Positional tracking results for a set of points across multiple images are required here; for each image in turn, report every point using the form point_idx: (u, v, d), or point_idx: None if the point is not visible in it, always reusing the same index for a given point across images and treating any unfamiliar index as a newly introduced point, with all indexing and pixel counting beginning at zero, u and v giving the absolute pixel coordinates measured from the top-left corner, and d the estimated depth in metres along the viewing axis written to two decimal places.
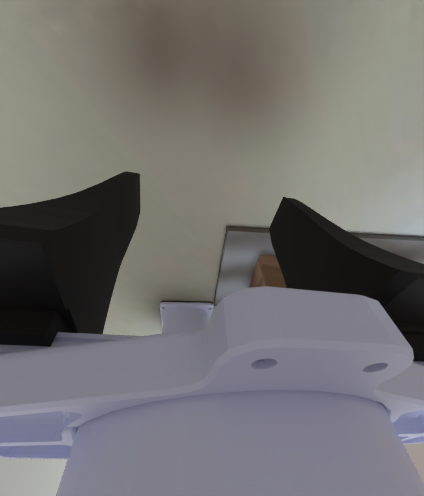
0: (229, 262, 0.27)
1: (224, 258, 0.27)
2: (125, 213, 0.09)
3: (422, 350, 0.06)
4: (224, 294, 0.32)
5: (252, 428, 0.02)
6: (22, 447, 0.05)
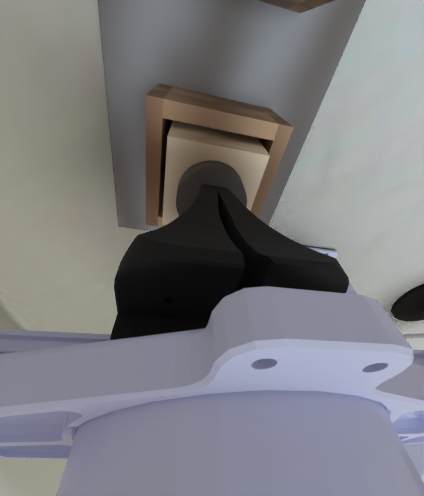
0: None
1: None
2: None
3: None
4: None
5: (252, 428, 0.02)
6: (22, 447, 0.05)
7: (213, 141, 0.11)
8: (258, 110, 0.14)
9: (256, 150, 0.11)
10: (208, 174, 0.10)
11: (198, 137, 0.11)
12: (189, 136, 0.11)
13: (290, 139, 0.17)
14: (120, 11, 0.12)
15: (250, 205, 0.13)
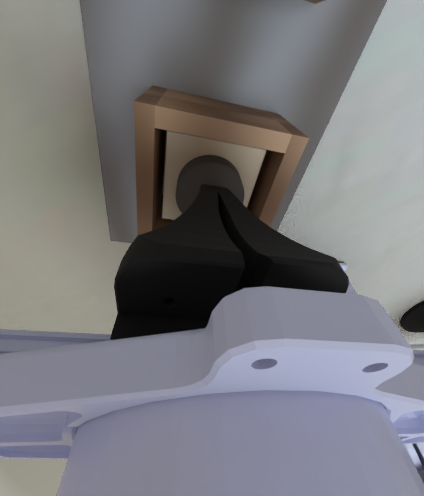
0: None
1: None
2: None
3: None
4: None
5: (252, 428, 0.02)
6: (22, 447, 0.05)
7: None
8: (266, 116, 0.12)
9: None
10: (207, 168, 0.11)
11: None
12: None
13: None
14: (105, 1, 0.10)
15: (248, 199, 0.13)
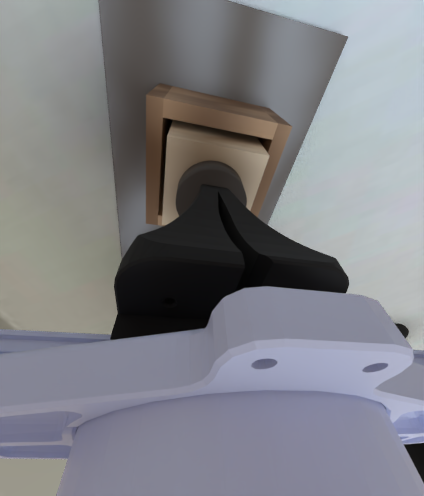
0: None
1: None
2: None
3: None
4: None
5: (252, 428, 0.02)
6: (22, 447, 0.05)
7: None
8: None
9: None
10: None
11: None
12: None
13: None
14: (130, 204, 0.20)
15: None
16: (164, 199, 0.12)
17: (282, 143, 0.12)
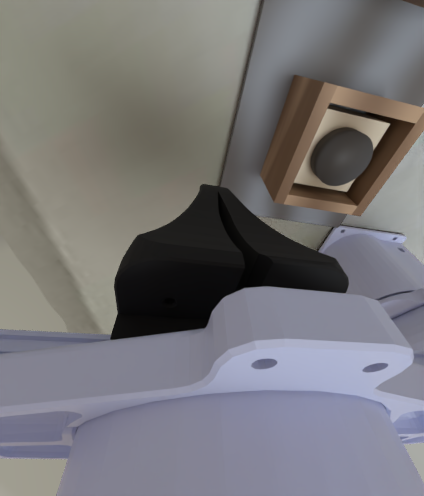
0: (262, 208, 0.23)
1: (254, 213, 0.23)
2: None
3: None
4: (319, 215, 0.24)
5: (252, 428, 0.02)
6: (22, 447, 0.05)
7: (348, 113, 0.15)
8: None
9: (378, 120, 0.15)
10: (352, 136, 0.14)
11: (337, 110, 0.15)
12: (332, 109, 0.15)
13: None
14: (280, 10, 0.14)
15: None
16: None
17: None
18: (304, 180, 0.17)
